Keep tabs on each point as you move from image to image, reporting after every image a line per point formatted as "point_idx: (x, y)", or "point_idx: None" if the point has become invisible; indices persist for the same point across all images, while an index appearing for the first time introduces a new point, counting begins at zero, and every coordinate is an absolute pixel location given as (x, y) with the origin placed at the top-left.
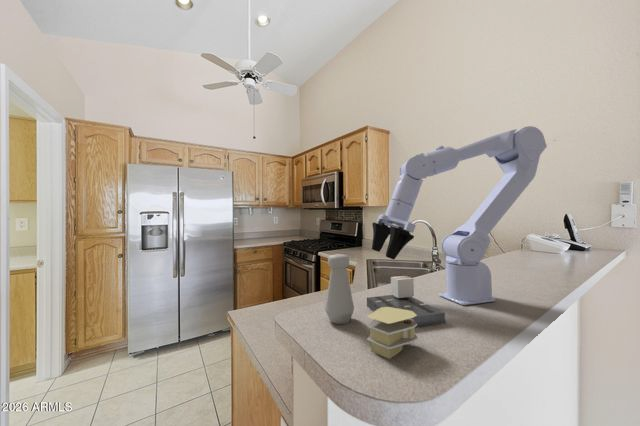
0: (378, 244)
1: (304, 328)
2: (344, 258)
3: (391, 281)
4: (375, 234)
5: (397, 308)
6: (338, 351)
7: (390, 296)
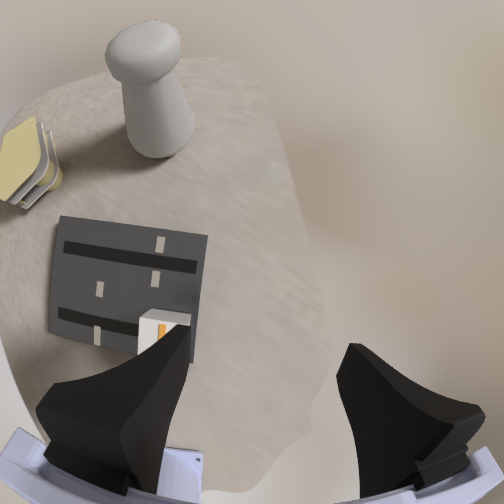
0: (354, 386)
1: None
2: (106, 49)
3: (183, 320)
4: (394, 389)
5: (21, 182)
6: (78, 103)
7: (186, 306)
